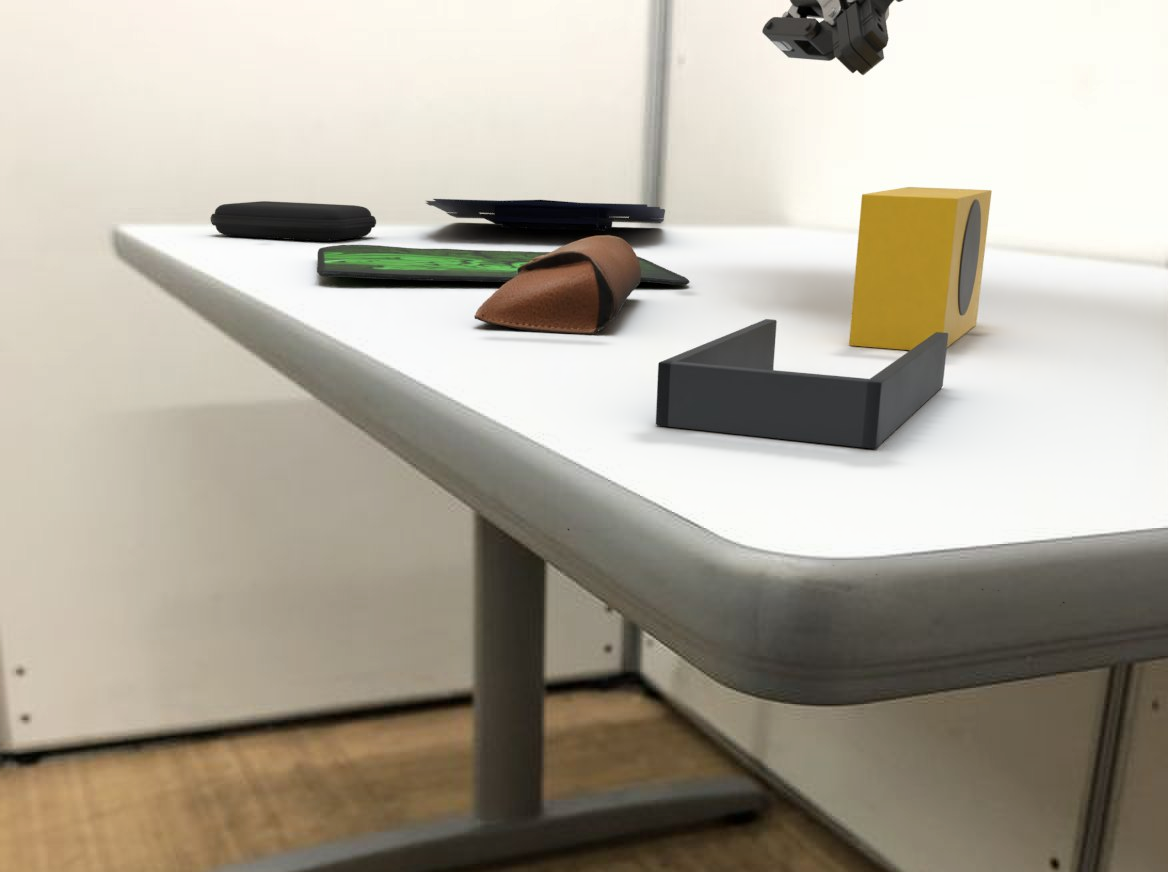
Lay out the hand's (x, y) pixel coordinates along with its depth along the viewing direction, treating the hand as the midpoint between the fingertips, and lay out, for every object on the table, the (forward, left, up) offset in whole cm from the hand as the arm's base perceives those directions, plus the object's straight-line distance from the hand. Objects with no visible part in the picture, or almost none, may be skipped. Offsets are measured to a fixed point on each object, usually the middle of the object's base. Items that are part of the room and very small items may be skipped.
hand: (862, 58), depth 80 cm
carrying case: (+42, -58, -15) cm, 73 cm away
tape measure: (-4, +4, -15) cm, 16 cm away
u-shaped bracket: (+7, +26, -15) cm, 31 cm away
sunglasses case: (+17, -3, -15) cm, 23 cm away
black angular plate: (+17, -68, -15) cm, 72 cm away
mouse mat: (+22, -27, -15) cm, 38 cm away
